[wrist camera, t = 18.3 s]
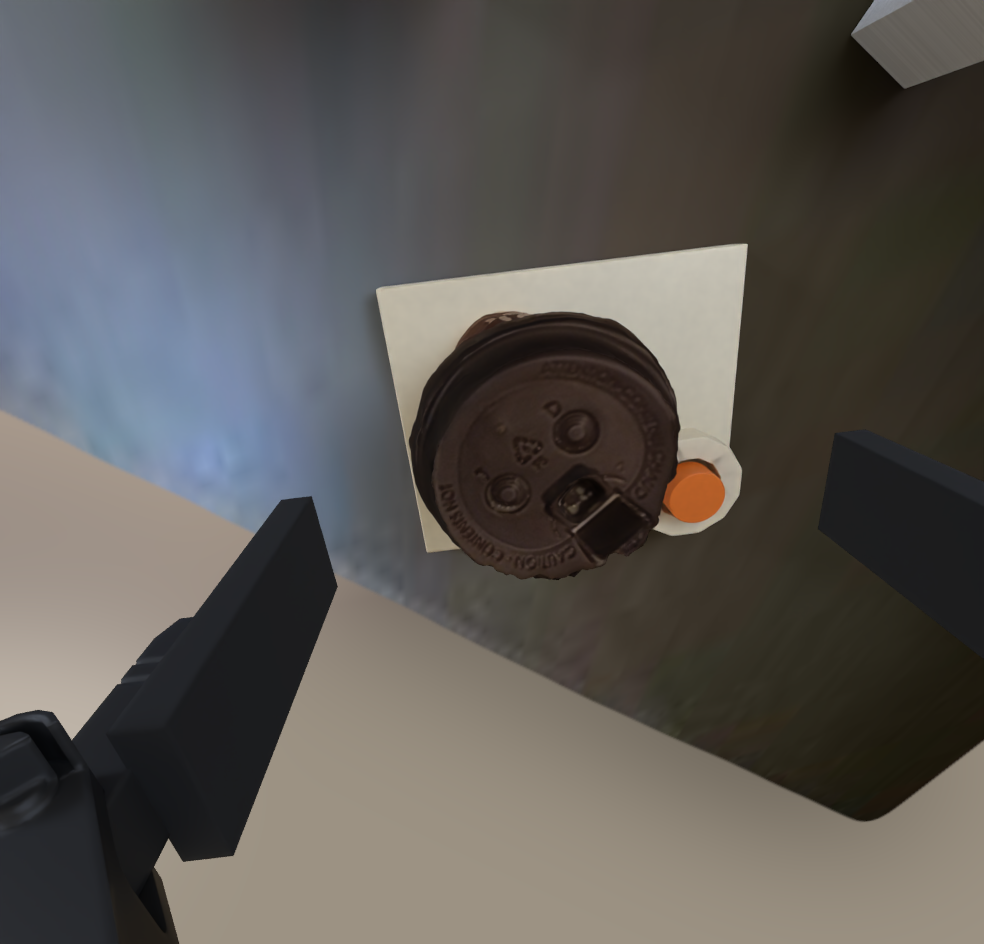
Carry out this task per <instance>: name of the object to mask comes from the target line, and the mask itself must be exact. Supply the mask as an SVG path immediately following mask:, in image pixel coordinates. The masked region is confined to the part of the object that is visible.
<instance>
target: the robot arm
mask: <svg viewBox="0 0 984 944" xmlns="http://www.w3.org/2000/svg"><path fill="white" fill-rule="evenodd" d="M818 529H819V530H820V531H821V532H823V533H824V534H825V535H827V536H828V537H829V538H830V539H832V540H833V541H834V542H835V543H837V544H838V545H839V546H841V547H842V548H843V549H844V550H846V551H847V552H848V553H849V554H851V555H852V556H853V557H855V558H856V559H857V560H858V561H860V562H861V563H862V564H863V565H865V566H866V567H867V568H869V569H870V570H871V571H872V572H874V573H875V574H876V575H877V576H879V577H880V578H881V579H883V580H884V581H885V582H886V583H888V584H889V585H890V586H891V587H893V588H894V589H895V590H896V591H898V592H899V593H900V594H902V595H903V596H904V597H905V598H907V599H908V600H909V601H910V602H912V603H913V604H914V605H916V606H917V607H918V608H919V609H921V610H922V611H923V612H924V613H926V614H927V615H928V616H930V617H931V618H932V619H933V620H935V621H936V622H937V623H938V624H940V625H941V626H942V627H944V628H945V629H946V630H947V631H949V632H950V633H951V634H952V635H954V636H955V637H956V638H958V639H959V640H960V641H961V642H963V643H964V644H965V645H966V646H968V647H969V648H970V649H971V650H973V651H974V652H975V653H977V654H978V655H979V656H980V657H982V658H983V659H984V482H983V481H980V480H978V479H976V478H974V477H971V476H969V475H967V474H965V473H962V472H960V471H958V470H956V469H953V468H951V467H949V466H947V465H944V464H942V463H940V462H938V461H935V460H933V459H931V458H929V457H926V456H924V455H922V454H920V453H917V452H915V451H913V450H911V449H908V448H906V447H904V446H902V445H899V444H897V443H895V442H893V441H890V440H888V439H886V438H884V437H881V436H879V435H877V434H874V433H872V432H870V431H868V430H857V431H849V432H841V433H835V436H834V441H833V447H832V453H831V458H830V464H829V470H828V475H827V481H826V487H825V492H824V498H823V504H822V509H821V515H820V521H819V526H818ZM337 587H338V586H337V583H336V579H335V576H334V572H333V569H332V565H331V562H330V558H329V555H328V551H327V548H326V544H325V541H324V538H323V534H322V531H321V527H320V524H319V520H318V517H317V513H316V510H315V506H314V503H313V499H312V496H310V497H302V498H293V499H285V500H281V501H280V502H279V504H278V505H277V506H276V508H275V509H274V510H273V512H272V513H271V514H270V516H269V517H268V518H267V520H266V521H265V522H264V524H263V525H262V526H261V528H260V529H259V530H258V532H257V533H256V534H255V536H254V537H253V538H252V540H251V541H250V542H249V544H248V545H247V546H246V548H245V549H244V550H243V552H242V553H241V554H240V556H239V557H238V558H237V560H236V561H235V562H234V564H233V565H232V566H231V568H230V569H229V570H228V572H227V573H226V574H225V576H224V577H223V578H222V580H221V581H220V582H219V584H218V585H217V586H216V588H215V589H214V590H213V592H212V593H211V594H210V596H209V597H208V598H207V600H206V601H205V602H204V604H203V605H202V606H201V608H200V609H199V610H198V612H197V613H196V614H195V616H194V617H190V618H182V619H179V620H178V621H176V622H175V623H174V624H173V625H171V626H170V627H169V628H167V629H166V630H165V631H163V632H162V633H161V634H160V635H158V636H157V637H156V638H154V640H153V641H152V642H151V643H150V645H149V646H148V647H147V648H146V650H145V651H144V652H143V653H142V654H141V656H140V657H139V658H138V659H137V661H136V662H137V663H136V665H132V667H131V668H130V669H129V670H128V672H127V673H126V674H125V675H124V677H123V678H122V679H121V684H117V685H116V686H115V688H114V689H113V690H112V692H111V693H110V694H109V695H108V696H107V698H106V699H105V700H104V701H103V703H102V704H101V705H100V706H99V708H98V709H97V710H96V711H95V712H94V714H93V715H92V716H91V717H90V719H89V720H88V721H87V722H86V724H85V725H84V726H83V727H82V729H81V730H80V731H79V732H78V733H77V735H76V736H75V737H74V738H73V740H71V739H70V737H69V736H68V734H67V733H66V731H65V729H64V728H63V726H62V725H61V723H60V722H59V720H58V719H57V717H56V716H55V715H54V713H53V712H48V711H42V710H35V711H30V712H25V713H20V714H16V715H14V716H11V717H9V718H7V719H4V720H1V721H0V944H179V941H178V937H177V934H176V930H175V926H174V923H173V919H172V915H171V912H170V908H169V904H168V901H167V897H166V893H165V889H164V886H163V882H162V879H161V877H160V876H159V874H158V873H157V871H156V869H155V868H154V866H155V863H156V861H157V860H158V858H159V856H160V854H161V852H162V850H163V848H164V846H165V844H166V842H167V840H168V838H169V840H170V841H171V843H172V844H173V846H174V848H175V849H176V851H177V853H178V854H179V856H180V858H181V859H182V861H183V862H185V861H194V860H202V859H211V858H218V857H227V856H233V855H234V853H235V850H236V848H237V845H238V842H239V840H240V837H241V835H242V832H243V830H244V827H245V825H246V822H247V819H248V817H249V814H250V812H251V809H252V806H253V804H254V801H255V799H256V796H257V794H258V791H259V788H260V786H261V783H262V780H263V778H264V775H265V773H266V770H267V768H268V765H269V763H270V760H271V757H272V755H273V752H274V750H275V747H276V744H277V742H278V739H279V736H280V734H281V732H282V729H283V726H284V724H285V721H286V718H287V716H288V713H289V711H290V708H291V706H292V703H293V700H294V698H295V695H296V693H297V690H298V687H299V685H300V682H301V680H302V677H303V675H304V672H305V669H306V667H307V664H308V662H309V659H310V656H311V654H312V651H313V649H314V646H315V643H316V641H317V638H318V636H319V633H320V631H321V628H322V625H323V623H324V620H325V618H326V615H327V613H328V610H329V607H330V605H331V602H332V600H333V597H334V594H335V592H336V589H337Z"/></svg>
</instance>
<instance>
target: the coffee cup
mask: <svg viewBox="0 0 984 944" xmlns="http://www.w3.org/2000/svg"><path fill="white" fill-rule="evenodd" d="M680 429H681V426H680V422H679V416H678V413H677V401H676V396H675V392H674V389H673V388H672V387H671V384H670V381H669V379H668V378H667V376H666V373H665V371H664V369H663V368H662V367H661V366H660V364H659V362H658V360H657V358H656V357H655V356H654V355H653V354H652V352H651V351H650V350H649V349H648V348H647V347H646V346H645V345H644V344H643V343H642V342H641V341H640V340H639V339H638V338H637V337H636V336H635V334H634V333H632V332H631V331H630V330H628V329H627V328H626V327H624V326H623V325H621V324H620V323H619V322H617V321H615V320H612V319H610V318H601V317H594V316H591V315H587V314H584V313H576V312H564V311H561V312H547V313H537V314H528V313H524V312H518V311H498V312H494V313H493V314H486V315H484V316H482V317H481V318H479V319H478V320H476V321H475V322H474V323H473V324H472V325H471V326H470V327H469V328H468V329H467V330H466V332H465V333H464V334H463V336H462V337H461V338H460V340H459V341H458V343H457V345H456V347H455V350H454V351H453V352H452V353H451V354H450V355H449V356H448V357H447V358H445V359H444V361H443V362H442V363H441V364H440V365H439V366H438V368H437V369H436V371H435V372H434V373H432V375H431V376H430V378H429V379H428V381H427V383H426V385H425V386H424V388H423V391H422V396H421V400H420V403H419V408H418V412H417V416H416V419H415V422H414V424H413V427H412V431H411V435H410V437H409V447H410V450H411V461H412V469H413V475H414V479H415V484H416V486H417V489H418V492H419V494H420V496H421V498H422V500H423V502H424V504H425V506H426V508H427V509H428V510H429V512H430V513H431V514H432V515H433V517H434V518H435V520H436V521H437V523H438V524H439V525H440V527H441V529H442V530H443V531H444V532H445V533H446V534H447V535H448V536H449V538H450V539H451V541H452V542H453V543H454V544H455V545H456V546H457V547H459V548H461V549H462V550H463V551H464V553H465V554H467V555H468V556H469V557H470V558H471V559H472V560H473V561H474V562H476V563H477V564H479V565H482V566H486V565H488V566H492V567H494V568H495V570H496V571H498V572H501V573H504V574H505V575H509V574H511V575H514V576H516V577H517V578H519V579H527V578H530V577H534V578H545V579H553V580H559V579H560V578H564V577H567V576H572V577H575V576H576V575H577V574H578V573H579V572H580V571H581V570H582V569H584V570H589V569H594V568H597V567H601V566H603V565H605V563H606V561H607V558H608V556H609V554H612V553H618V554H624V555H625V556H629V555H630V554H631V553H632V552H634V551H635V550H637V549H639V548H640V547H642V546H643V545H644V543H645V542H646V540H647V537H648V533H649V531H650V530H651V529H654V528H655V527H656V526H657V525H658V523H659V517H658V516H660V513H661V507H662V503H663V500H664V496H665V492H666V489H667V484H668V483H670V482H671V481H672V480H673V479H674V478H675V476H676V474H677V470H676V469H677V465H678V459H677V452H678V434H679V432H680Z"/></svg>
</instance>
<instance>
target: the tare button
mask: <svg viewBox="0 0 984 944" xmlns="http://www.w3.org/2000/svg"><path fill="white" fill-rule="evenodd" d="M676 470H677V474H676V476H675V478H674V479H673V480H672V481H671V482H670V483H668V484H667V489H666V492H665V496H664V500H663V503H664V504H665V506H666V507H667V508H668V509H669V511H670V512H671V513H672V514H673V515H674V517H676V518H677V519H678V520H680V521H683V522H687V523H697V522H701V521H704V520H707V519H708V518H710V517H712V516H713V515H714V514H715V513H716V512H717V511H718V510H719V509H720V507H721V506H722V504H723V501H724V498H725V488H724V485H723V483H722V481H721V480H720V479H719V478H718V477H717V476H716V475H715V474H714V473H713V472H711V471H710V470H709V469H708V468H707V467H706V466H704V465H703V464H700V463H697V462H684V463H680V464H678V465H677V469H676Z"/></svg>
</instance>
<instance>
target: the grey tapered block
mask: <svg viewBox="0 0 984 944" xmlns="http://www.w3.org/2000/svg"><path fill="white" fill-rule="evenodd" d="M851 36H852V37H853V38H854V39H855V40H856V41H857V42H858V43H859V44H860V45H861V46H862V47H863V48H864V49H865V50H866V51H867V52H868V53H869V54H870V55H871V56H872V57H873V58H874V59H875V60H876V61H877V62H878V63H879V64H880V65H881V66H882V67H883V68H884V69H885V70H886V71H887V72H888V73H889V74H890V75H891V76H892V77H893V78H894V79H895V80H896V81H897V82H898V83H899V84H900V85H901V86H902V87H903V88H904V89H906V88H909V87H911V86H914V85H917V84H920V83H922V82H925V81H928V80H931V79H934V78H936V77H939V76H942V75H945V74H947V73H950V72H953V71H956V70H959V69H961V68H964V67H967V66H970V65H972V64H975V63H978V62H981V61H984V0H874V2H873V3H872V5H871V6H870V8H869V9H868V10H867V12H866V13H865V15H864V16H863V18H862V19H861V21H860V22H859V24H858V25H857V26H856V28H855V29H854V31H853V32H852V34H851Z"/></svg>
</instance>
